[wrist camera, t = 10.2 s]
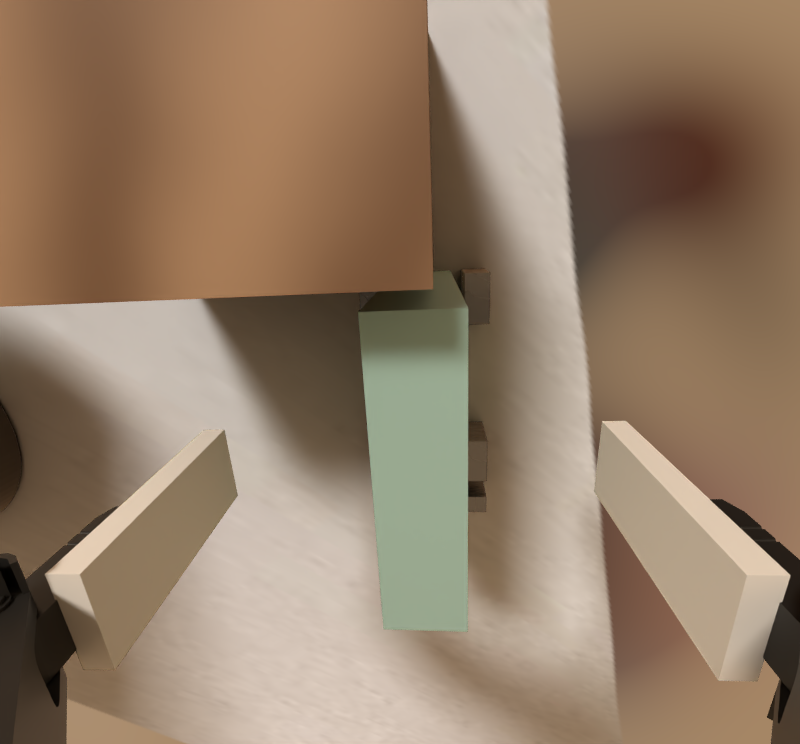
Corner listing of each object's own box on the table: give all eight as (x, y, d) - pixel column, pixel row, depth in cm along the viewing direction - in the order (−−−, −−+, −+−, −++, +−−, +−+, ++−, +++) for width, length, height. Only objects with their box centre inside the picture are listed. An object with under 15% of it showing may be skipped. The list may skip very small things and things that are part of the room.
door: (404, 458, 26) (383, 629, 15) (395, 272, 23) (357, 312, 11) (452, 458, 26) (467, 631, 15) (450, 270, 23) (468, 307, 11)
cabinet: (184, 267, 24) (-137, 312, 10) (141, 58, 20) (-398, -266, 7) (433, 256, 22) (433, 289, 9) (428, 31, 19) (416, -421, 6)
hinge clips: (381, 486, 27) (376, 511, 25) (365, 273, 23) (358, 278, 20) (481, 487, 27) (485, 511, 24) (484, 268, 22) (490, 272, 20)
